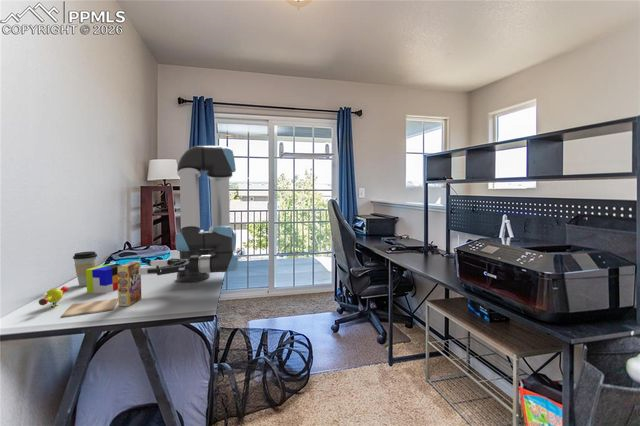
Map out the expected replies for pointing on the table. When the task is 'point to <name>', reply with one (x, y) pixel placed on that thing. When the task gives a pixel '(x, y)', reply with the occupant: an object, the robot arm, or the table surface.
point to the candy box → (129, 283)
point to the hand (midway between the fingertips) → (145, 267)
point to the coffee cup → (84, 265)
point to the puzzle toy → (102, 279)
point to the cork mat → (90, 307)
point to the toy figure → (53, 296)
